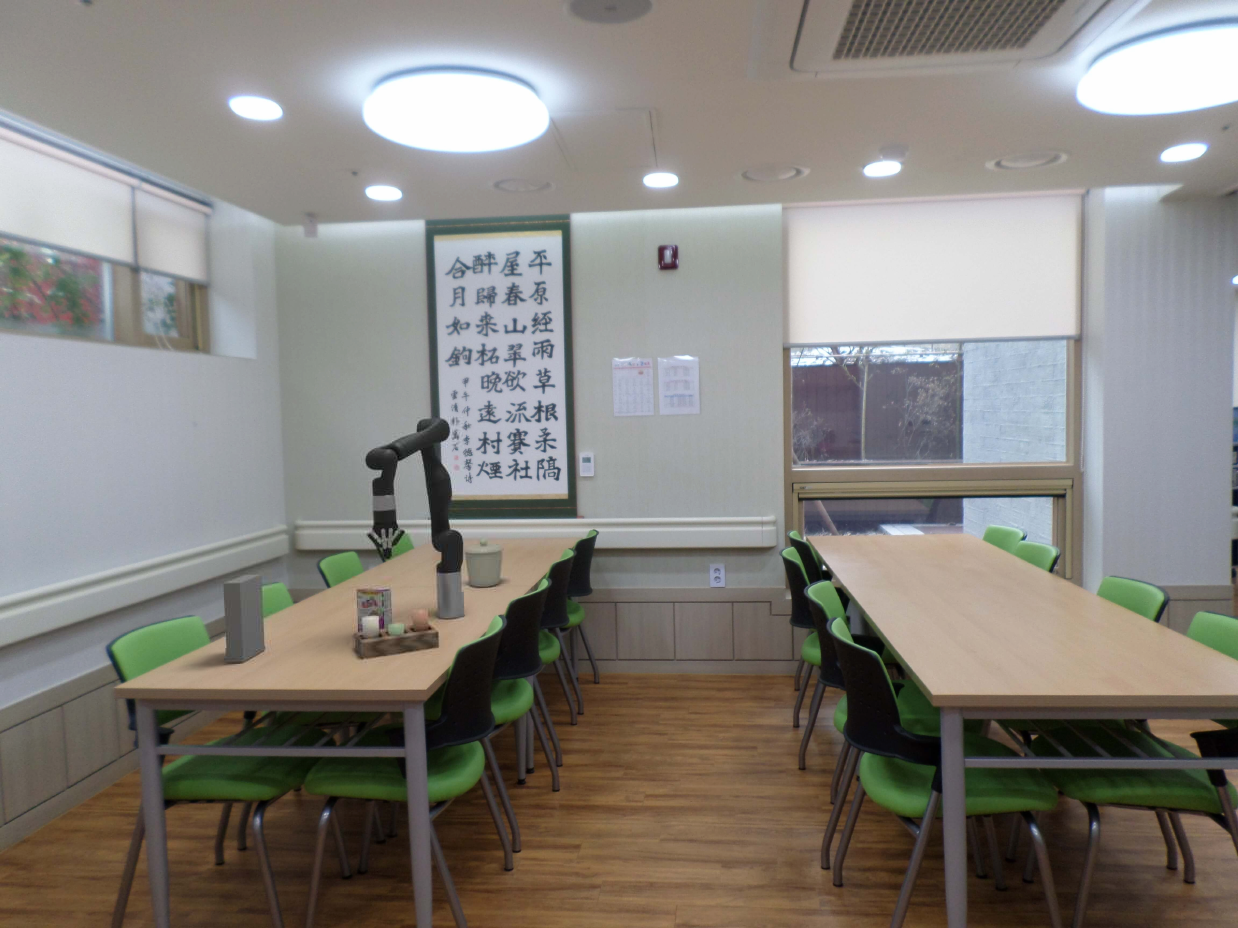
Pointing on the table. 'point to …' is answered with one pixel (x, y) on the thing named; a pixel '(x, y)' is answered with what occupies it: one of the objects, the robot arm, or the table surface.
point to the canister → (484, 564)
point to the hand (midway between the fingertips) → (387, 558)
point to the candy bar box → (374, 605)
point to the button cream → (370, 627)
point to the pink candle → (420, 620)
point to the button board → (396, 642)
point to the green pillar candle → (395, 629)
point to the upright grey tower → (243, 618)
